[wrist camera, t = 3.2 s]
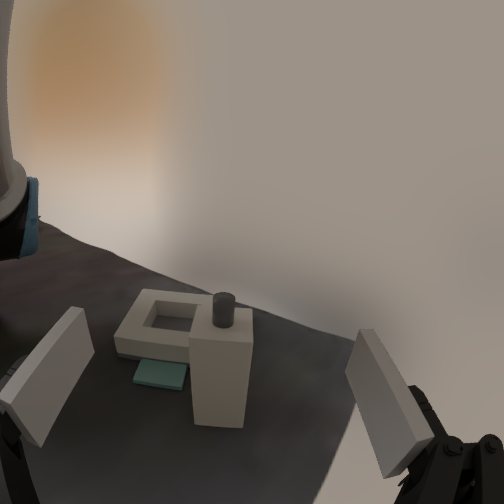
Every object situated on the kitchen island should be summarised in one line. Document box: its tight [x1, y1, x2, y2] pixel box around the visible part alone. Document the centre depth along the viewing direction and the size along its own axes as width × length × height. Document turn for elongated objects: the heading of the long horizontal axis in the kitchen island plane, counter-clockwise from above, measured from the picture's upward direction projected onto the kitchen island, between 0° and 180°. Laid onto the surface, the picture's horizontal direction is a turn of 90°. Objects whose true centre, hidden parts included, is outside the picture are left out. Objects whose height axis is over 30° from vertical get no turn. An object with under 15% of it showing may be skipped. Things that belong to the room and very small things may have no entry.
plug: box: [189, 292, 253, 428], centre depth 25 cm, size 5×5×14 cm
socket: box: [114, 289, 213, 391], centre depth 37 cm, size 17×13×4 cm
